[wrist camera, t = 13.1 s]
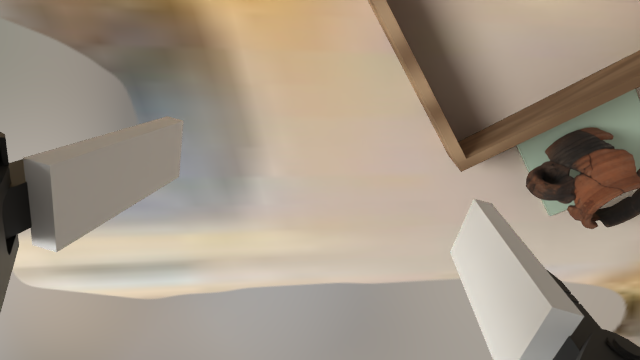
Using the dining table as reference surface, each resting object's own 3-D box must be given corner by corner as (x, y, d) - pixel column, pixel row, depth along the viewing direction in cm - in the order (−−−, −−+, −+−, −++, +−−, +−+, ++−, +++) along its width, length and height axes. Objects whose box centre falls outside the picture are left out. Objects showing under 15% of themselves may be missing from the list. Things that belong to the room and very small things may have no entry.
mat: (512, 137, 38) (514, 138, 38) (629, 81, 35) (632, 81, 34) (548, 214, 41) (550, 216, 40) (661, 169, 37) (664, 170, 37)
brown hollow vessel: (627, 113, 35) (700, 166, 30) (587, 176, 42) (639, 228, 36) (516, 134, 35) (568, 190, 29) (494, 193, 42) (532, 248, 36)
